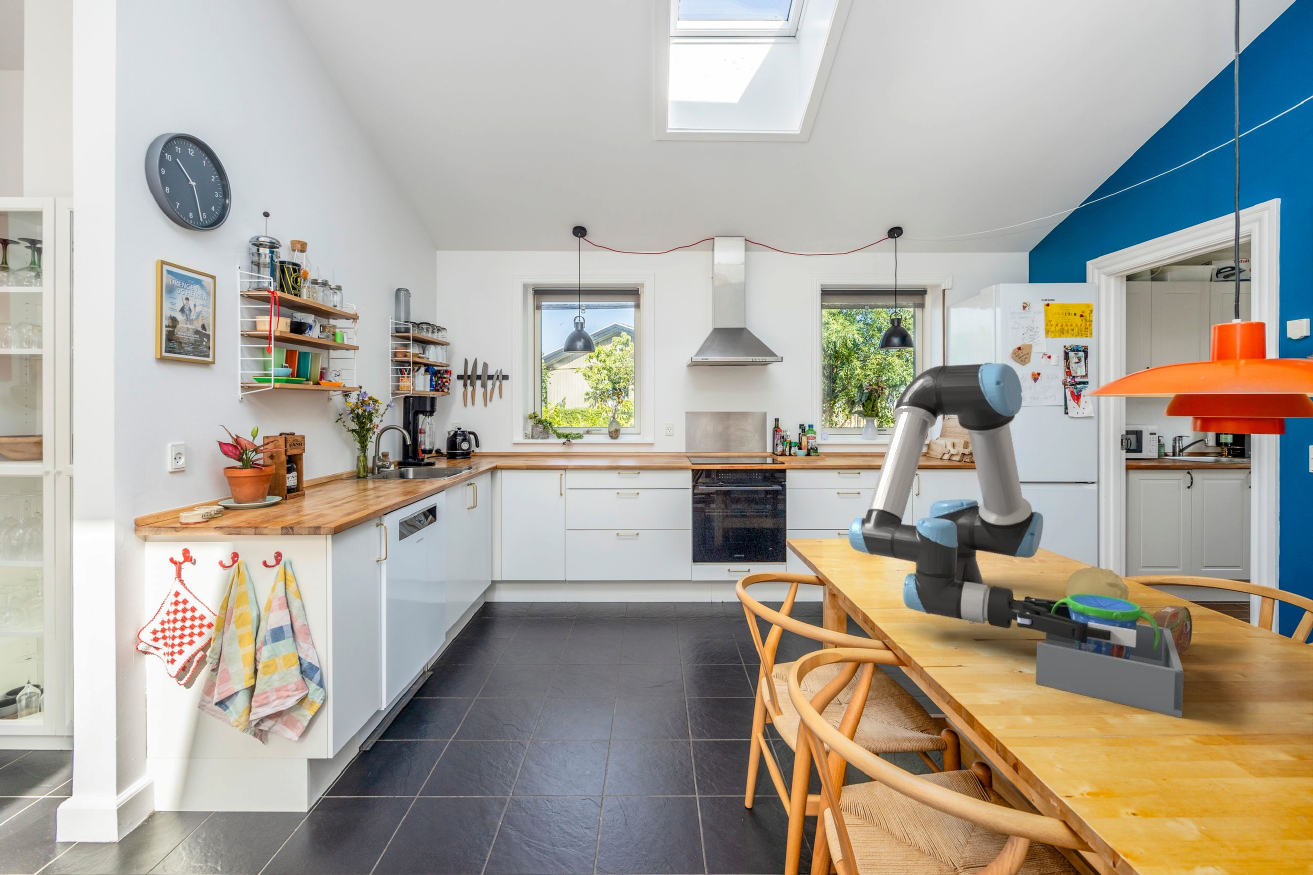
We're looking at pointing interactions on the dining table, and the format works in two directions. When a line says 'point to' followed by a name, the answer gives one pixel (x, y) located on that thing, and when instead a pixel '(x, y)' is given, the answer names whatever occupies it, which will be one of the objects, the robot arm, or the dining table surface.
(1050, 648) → the bin
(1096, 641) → the snack cup
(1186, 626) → the tin
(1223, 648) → the dining table surface
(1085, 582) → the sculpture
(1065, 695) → the dining table surface
